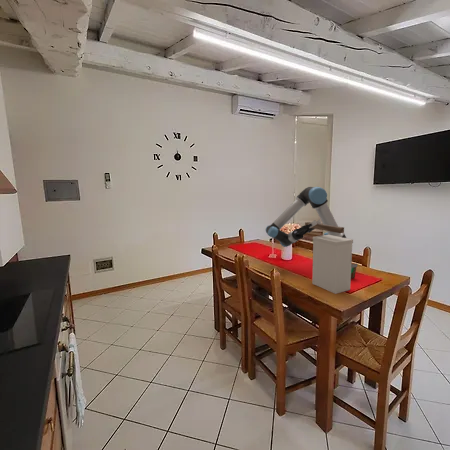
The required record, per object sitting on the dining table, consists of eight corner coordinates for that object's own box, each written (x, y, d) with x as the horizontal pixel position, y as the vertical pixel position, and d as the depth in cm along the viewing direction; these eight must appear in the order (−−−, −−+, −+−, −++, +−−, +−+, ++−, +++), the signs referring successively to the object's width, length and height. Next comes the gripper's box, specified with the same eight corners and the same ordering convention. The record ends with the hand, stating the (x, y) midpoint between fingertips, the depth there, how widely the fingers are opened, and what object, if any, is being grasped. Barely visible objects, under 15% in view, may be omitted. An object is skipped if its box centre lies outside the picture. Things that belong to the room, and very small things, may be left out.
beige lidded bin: (326, 280, 172) (328, 234, 168) (350, 289, 156) (353, 239, 152) (311, 283, 167) (312, 236, 162) (334, 294, 151) (336, 242, 146)
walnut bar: (308, 226, 176) (308, 222, 175) (343, 232, 151) (344, 227, 150) (305, 226, 174) (305, 222, 174) (340, 233, 149) (340, 227, 149)
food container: (334, 275, 180) (334, 261, 178) (339, 273, 183) (339, 259, 182) (351, 280, 170) (352, 265, 169) (356, 278, 174) (357, 263, 172)
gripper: (306, 239, 188) (329, 226, 168) (288, 241, 181) (310, 228, 161) (302, 229, 190) (325, 215, 170) (284, 231, 183) (306, 217, 163)
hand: (317, 222), depth 166 cm, fingers closed on walnut bar, 3 cm apart
